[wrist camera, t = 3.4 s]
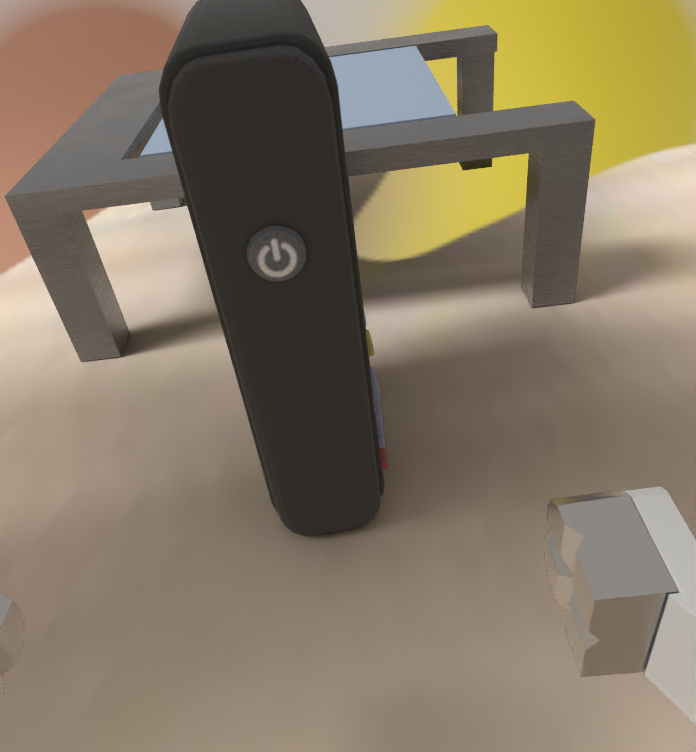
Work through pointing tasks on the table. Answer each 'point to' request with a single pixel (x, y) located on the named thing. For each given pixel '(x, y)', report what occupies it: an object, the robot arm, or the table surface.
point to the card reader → (280, 250)
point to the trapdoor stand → (363, 156)
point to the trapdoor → (370, 93)
